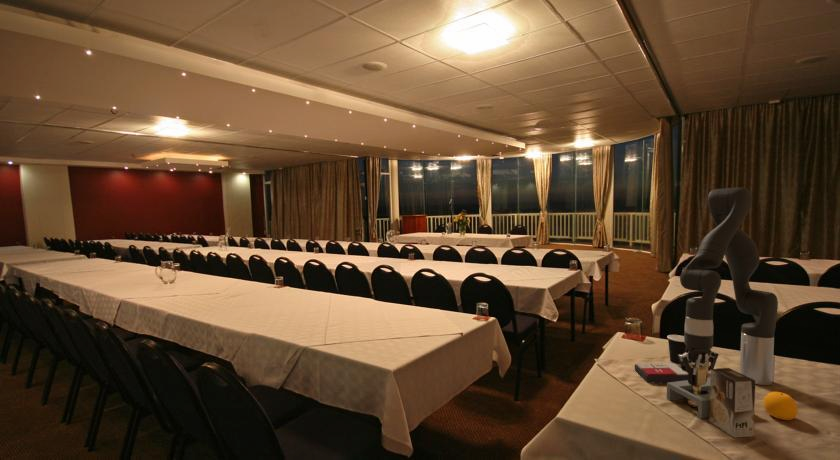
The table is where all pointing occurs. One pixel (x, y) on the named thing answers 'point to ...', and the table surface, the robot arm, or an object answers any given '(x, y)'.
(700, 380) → the peg
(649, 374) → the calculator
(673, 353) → the dixie cup
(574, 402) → the table surface
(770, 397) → the orange
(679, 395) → the keyhole plate
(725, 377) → the coffee box
